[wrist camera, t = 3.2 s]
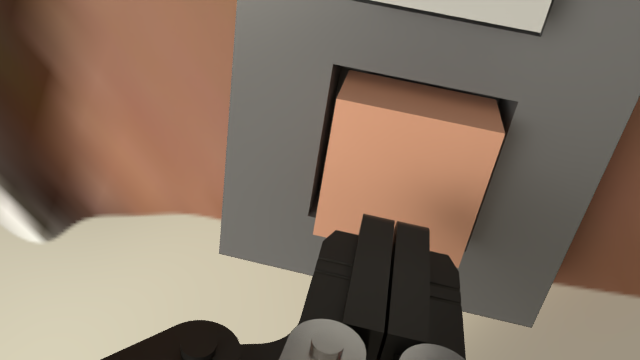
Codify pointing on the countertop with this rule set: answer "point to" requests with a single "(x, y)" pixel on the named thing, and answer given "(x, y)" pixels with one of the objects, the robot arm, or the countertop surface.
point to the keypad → (446, 73)
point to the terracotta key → (408, 159)
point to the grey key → (487, 10)
